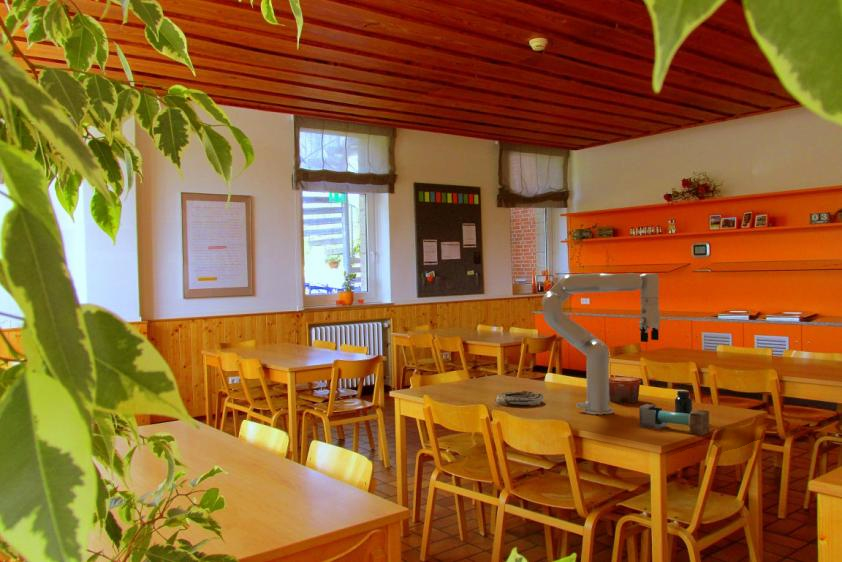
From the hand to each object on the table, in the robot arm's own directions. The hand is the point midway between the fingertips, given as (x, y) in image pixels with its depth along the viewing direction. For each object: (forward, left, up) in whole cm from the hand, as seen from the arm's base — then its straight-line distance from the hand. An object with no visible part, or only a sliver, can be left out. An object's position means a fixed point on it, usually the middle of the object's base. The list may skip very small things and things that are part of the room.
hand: (649, 340), depth 311 cm
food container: (-6, +25, -32) cm, 41 cm away
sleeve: (-6, -28, -31) cm, 42 cm away
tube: (+3, -34, -30) cm, 46 cm away
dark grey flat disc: (-55, +23, -32) cm, 68 cm away
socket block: (+9, -39, -31) cm, 51 cm away
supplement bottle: (+10, -17, -32) cm, 37 cm away
